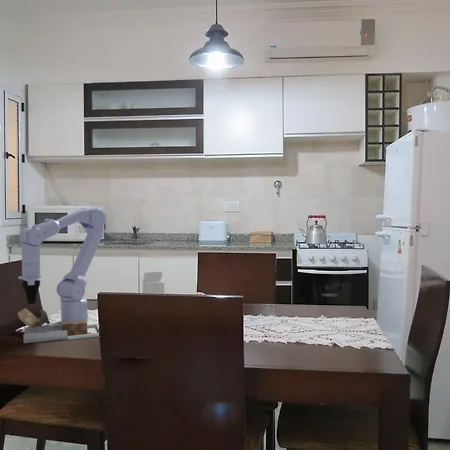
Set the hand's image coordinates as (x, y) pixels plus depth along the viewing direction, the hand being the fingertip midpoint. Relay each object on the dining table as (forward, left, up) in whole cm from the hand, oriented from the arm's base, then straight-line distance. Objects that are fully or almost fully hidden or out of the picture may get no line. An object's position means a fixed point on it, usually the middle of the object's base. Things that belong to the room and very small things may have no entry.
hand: (31, 302), depth 157 cm
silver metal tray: (-4, +9, -10) cm, 15 cm away
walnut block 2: (-15, +9, -10) cm, 20 cm away
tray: (-16, +9, -10) cm, 21 cm away
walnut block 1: (-11, +9, -10) cm, 18 cm away
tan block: (-3, +3, -7) cm, 8 cm away
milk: (-37, +22, -11) cm, 45 cm away
